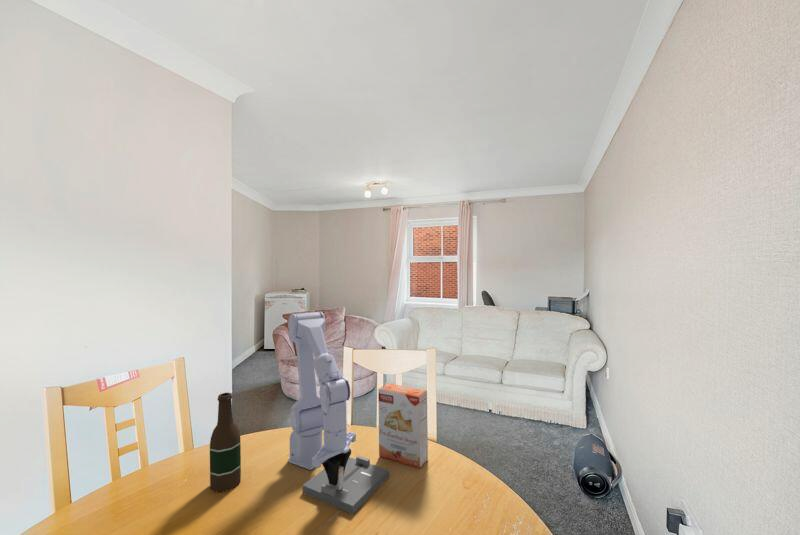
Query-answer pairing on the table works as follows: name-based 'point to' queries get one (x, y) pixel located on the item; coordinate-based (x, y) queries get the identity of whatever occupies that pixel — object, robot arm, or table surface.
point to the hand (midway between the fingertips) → (335, 481)
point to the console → (348, 485)
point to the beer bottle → (225, 448)
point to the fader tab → (339, 480)
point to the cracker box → (403, 424)
